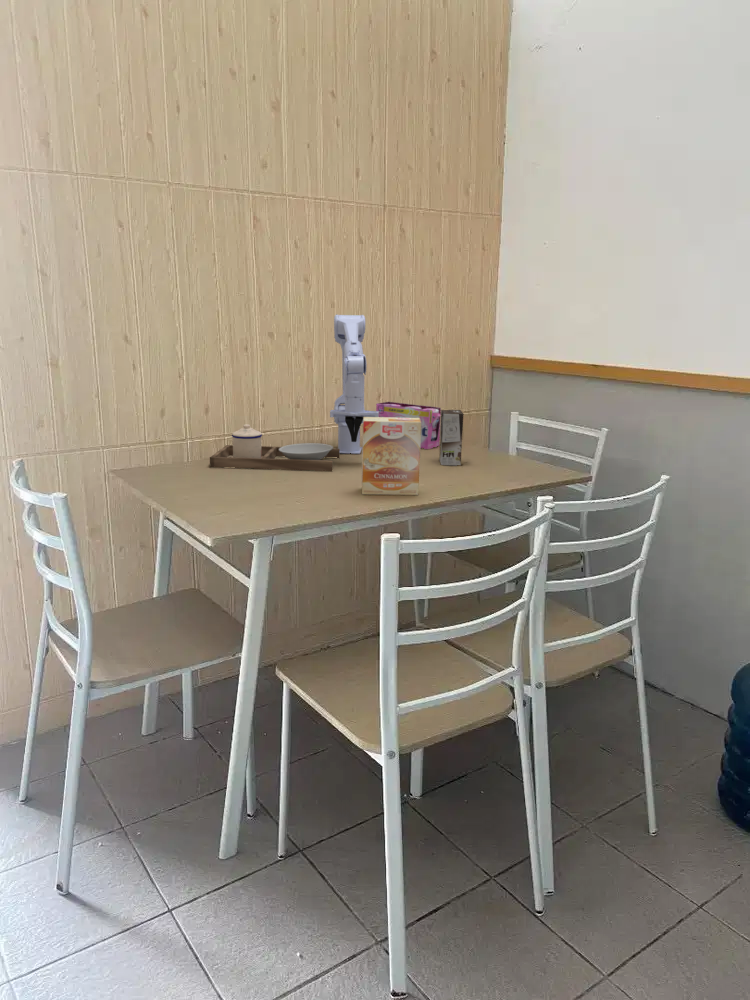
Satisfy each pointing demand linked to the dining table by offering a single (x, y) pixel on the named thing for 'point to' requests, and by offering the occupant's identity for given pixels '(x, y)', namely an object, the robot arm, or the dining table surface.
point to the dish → (306, 451)
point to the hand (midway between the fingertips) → (354, 441)
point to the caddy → (271, 460)
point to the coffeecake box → (391, 455)
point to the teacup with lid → (247, 443)
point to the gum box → (425, 413)
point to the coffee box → (451, 437)
